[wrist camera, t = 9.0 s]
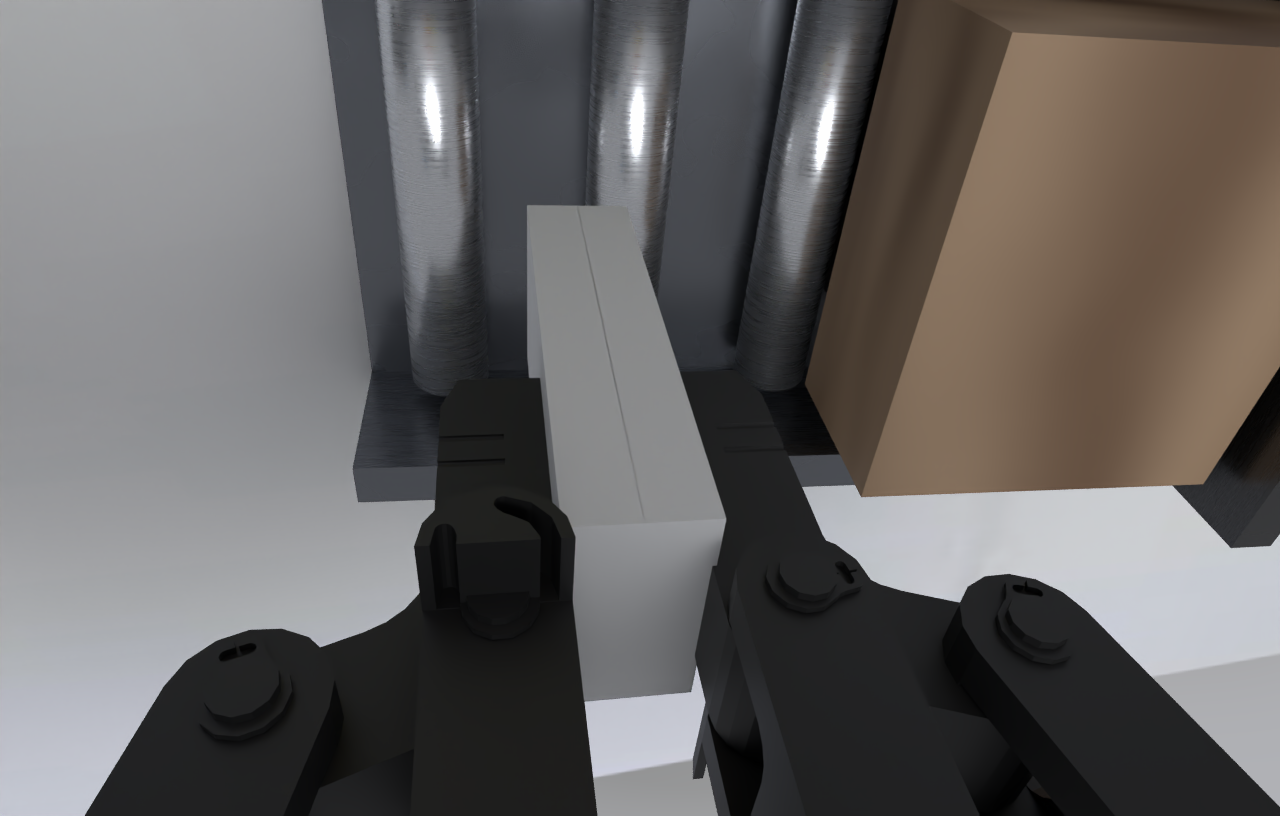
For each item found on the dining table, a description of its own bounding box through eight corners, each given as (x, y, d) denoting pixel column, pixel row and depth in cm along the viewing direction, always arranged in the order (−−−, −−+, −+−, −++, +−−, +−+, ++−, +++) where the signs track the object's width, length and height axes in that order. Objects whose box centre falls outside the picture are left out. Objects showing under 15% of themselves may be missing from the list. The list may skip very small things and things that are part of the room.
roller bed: (379, 385, 22) (334, 628, 16) (300, -224, 15) (153, -213, 8) (1061, 375, 25) (1247, 576, 19) (1296, -130, 18) (1738, -70, 11)
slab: (804, 384, 20) (861, 496, 17) (904, -25, 15) (1012, 32, 12) (1100, 379, 22) (1203, 484, 19) (1290, 1, 16) (1480, 58, 13)
